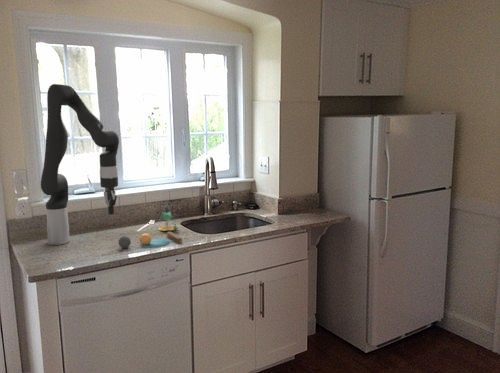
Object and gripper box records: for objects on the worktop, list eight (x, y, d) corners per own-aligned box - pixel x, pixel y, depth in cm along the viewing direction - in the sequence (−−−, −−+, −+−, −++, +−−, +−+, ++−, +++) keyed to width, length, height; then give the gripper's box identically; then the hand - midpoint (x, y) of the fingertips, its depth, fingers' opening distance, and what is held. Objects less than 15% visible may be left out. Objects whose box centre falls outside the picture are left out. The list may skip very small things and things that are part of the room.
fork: (134, 232, 234) (134, 228, 234) (150, 222, 253) (150, 219, 253) (140, 232, 233) (140, 228, 233) (155, 223, 253) (155, 219, 252)
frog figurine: (165, 236, 225) (163, 207, 224) (154, 231, 241) (152, 204, 239) (183, 233, 230) (180, 205, 229) (171, 229, 245) (168, 202, 244)
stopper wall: (178, 243, 211) (178, 238, 211) (167, 236, 223) (167, 232, 222) (182, 243, 212) (181, 238, 212) (170, 236, 224) (170, 231, 223)
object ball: (141, 233, 206) (152, 232, 209) (137, 234, 210) (148, 232, 213) (142, 245, 205) (153, 243, 208) (138, 245, 210) (149, 244, 213)
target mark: (145, 249, 203) (145, 249, 203) (136, 241, 214) (136, 241, 214) (174, 244, 210) (174, 244, 210) (163, 237, 222) (163, 237, 222)
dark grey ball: (129, 233, 204) (135, 243, 206) (122, 234, 208) (128, 243, 209) (120, 240, 200) (126, 250, 202) (114, 240, 204) (119, 250, 206)
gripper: (96, 174, 200) (98, 212, 202) (104, 178, 188) (106, 218, 191) (113, 173, 203) (115, 210, 206) (121, 177, 192) (123, 215, 195)
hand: (111, 214), depth 199 cm, fingers closed
